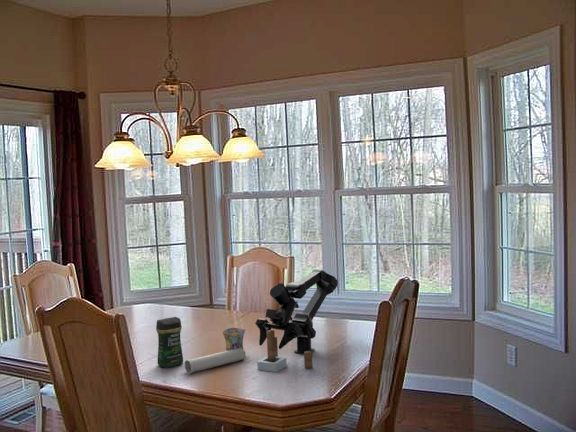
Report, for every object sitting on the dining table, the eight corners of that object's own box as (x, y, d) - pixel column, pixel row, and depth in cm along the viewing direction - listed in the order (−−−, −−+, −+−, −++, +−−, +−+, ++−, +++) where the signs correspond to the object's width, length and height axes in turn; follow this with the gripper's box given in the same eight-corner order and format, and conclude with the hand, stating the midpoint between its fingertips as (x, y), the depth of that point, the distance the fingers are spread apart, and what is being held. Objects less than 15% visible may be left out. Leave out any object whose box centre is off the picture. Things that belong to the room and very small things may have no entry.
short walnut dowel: (306, 366, 210) (306, 350, 209) (313, 367, 208) (313, 351, 208) (303, 368, 207) (302, 352, 207) (310, 369, 206) (309, 353, 205)
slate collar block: (268, 362, 215) (268, 355, 215) (286, 365, 211) (286, 357, 211) (257, 369, 208) (257, 361, 208) (275, 372, 204) (275, 364, 204)
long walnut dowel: (271, 365, 212) (269, 329, 211) (277, 366, 210) (276, 330, 209) (266, 367, 210) (264, 331, 209) (273, 369, 208) (271, 332, 207)
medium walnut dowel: (273, 358, 221) (272, 336, 220) (279, 359, 219) (278, 336, 219) (269, 360, 218) (268, 338, 218) (275, 361, 217) (274, 338, 216)
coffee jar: (163, 369, 212) (160, 322, 211) (155, 365, 219) (152, 318, 218) (186, 364, 218) (184, 317, 217) (177, 359, 224) (175, 314, 223)
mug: (250, 356, 224) (249, 331, 223) (229, 361, 219) (228, 335, 218) (237, 349, 234) (236, 325, 233) (217, 354, 229) (215, 328, 229)
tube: (239, 347, 224) (183, 360, 209) (246, 345, 220) (189, 359, 205) (242, 360, 223) (186, 374, 208) (249, 359, 219) (192, 373, 204)
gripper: (256, 298, 217) (240, 332, 209) (296, 302, 206) (280, 339, 198) (269, 313, 224) (254, 347, 216) (308, 318, 213) (293, 354, 205)
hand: (269, 346), depth 209 cm, fingers open, 9 cm apart
